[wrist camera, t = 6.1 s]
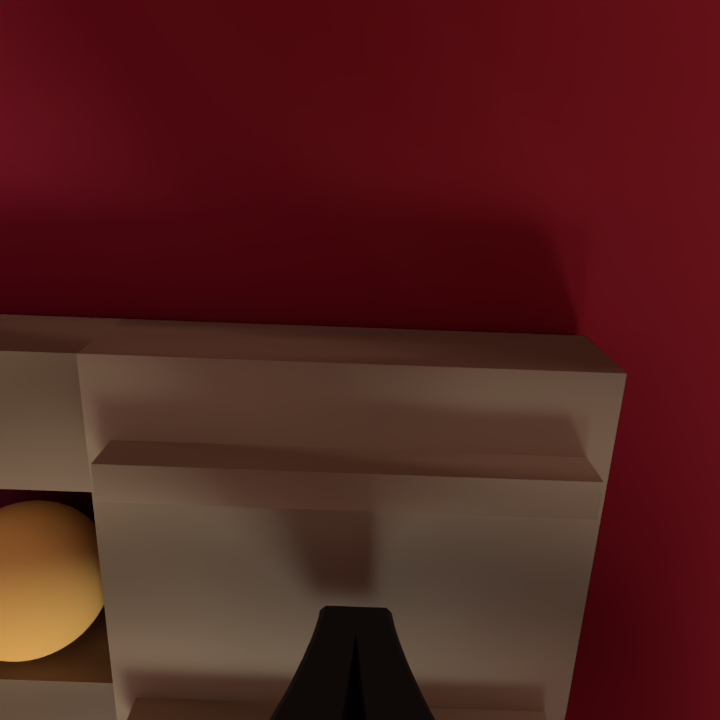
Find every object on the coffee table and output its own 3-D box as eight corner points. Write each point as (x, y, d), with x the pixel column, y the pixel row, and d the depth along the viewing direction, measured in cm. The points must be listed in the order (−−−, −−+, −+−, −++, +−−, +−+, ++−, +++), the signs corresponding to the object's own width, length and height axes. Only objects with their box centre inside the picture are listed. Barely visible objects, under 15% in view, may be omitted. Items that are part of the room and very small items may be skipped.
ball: (-31, 593, 17) (114, 557, 18) (-44, 719, 14) (128, 665, 15) (-70, 489, 15) (94, 456, 16) (-93, 609, 12) (107, 557, 13)
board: (527, 709, 18) (576, 882, 14) (-113, 687, 18) (-258, 854, 14) (585, 335, 15) (673, 415, 11) (-210, 306, 15) (-444, 375, 10)
